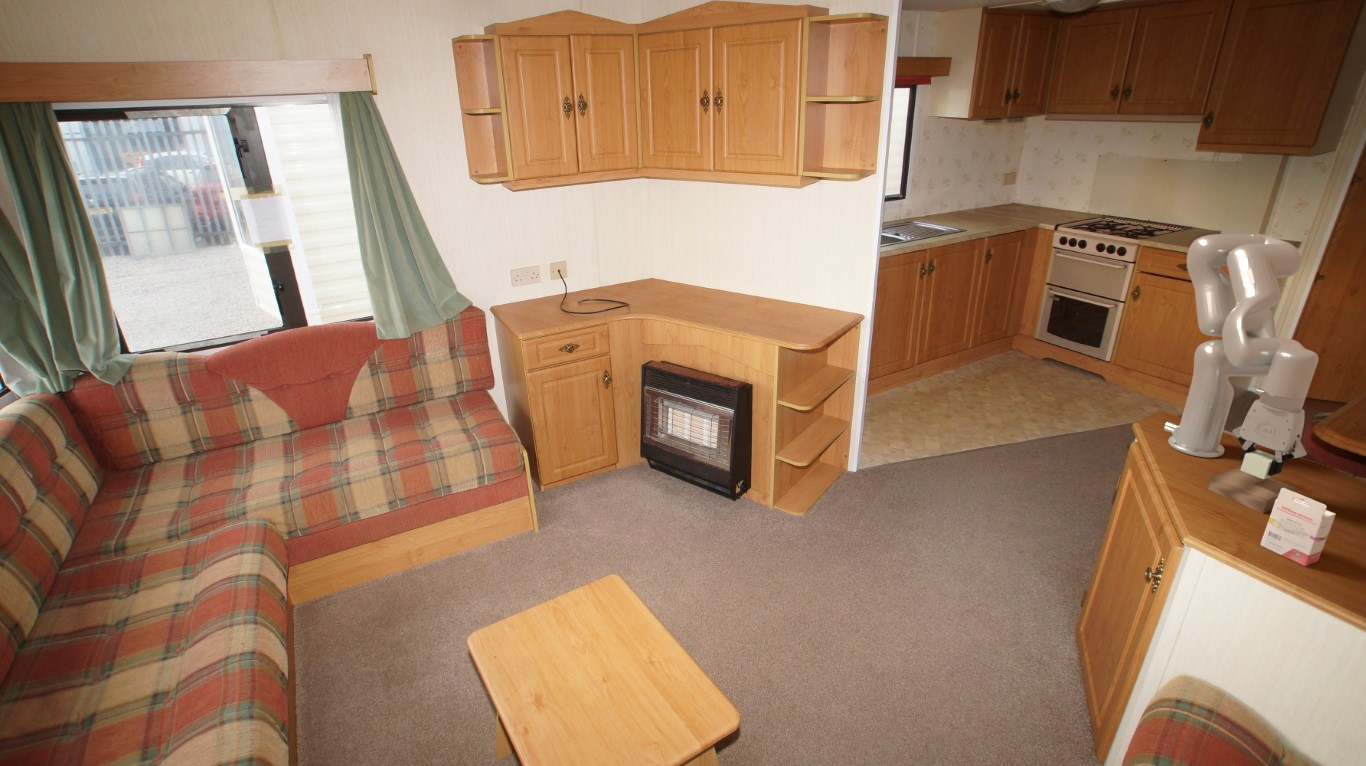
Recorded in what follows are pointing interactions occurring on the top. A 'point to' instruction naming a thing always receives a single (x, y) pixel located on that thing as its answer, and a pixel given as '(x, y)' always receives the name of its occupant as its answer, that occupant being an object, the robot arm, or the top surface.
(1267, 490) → the walnut block
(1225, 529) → the top surface
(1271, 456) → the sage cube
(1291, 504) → the ink cartridge box
